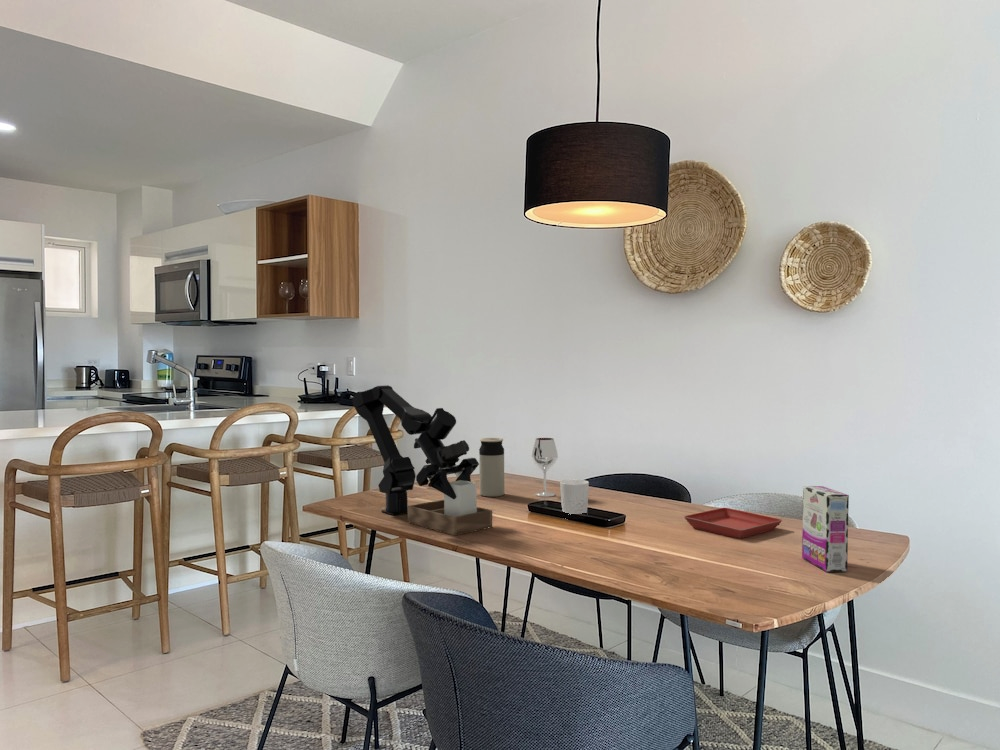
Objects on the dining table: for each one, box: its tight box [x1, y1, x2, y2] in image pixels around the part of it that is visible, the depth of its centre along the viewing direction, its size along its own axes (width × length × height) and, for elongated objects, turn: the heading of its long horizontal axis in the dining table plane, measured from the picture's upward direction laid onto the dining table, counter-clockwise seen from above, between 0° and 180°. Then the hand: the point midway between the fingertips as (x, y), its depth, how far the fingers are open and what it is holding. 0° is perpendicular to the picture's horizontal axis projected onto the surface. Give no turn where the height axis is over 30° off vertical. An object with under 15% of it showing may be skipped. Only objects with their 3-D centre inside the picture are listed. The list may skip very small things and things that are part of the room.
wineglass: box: [531, 437, 558, 498], centre depth 244 cm, size 8×8×18 cm
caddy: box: [443, 480, 478, 517], centre depth 201 cm, size 6×6×10 cm
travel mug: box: [478, 437, 505, 498], centre depth 245 cm, size 8×8×18 cm
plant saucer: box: [683, 507, 783, 539], centre depth 199 cm, size 18×18×3 cm
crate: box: [407, 499, 493, 536], centre depth 205 cm, size 20×13×5 cm, turn 42°
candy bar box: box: [801, 485, 850, 573], centre depth 165 cm, size 11×5×16 cm, turn 5°
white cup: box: [559, 478, 590, 520], centre depth 212 cm, size 8×8×10 cm
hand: (463, 496), depth 200 cm, fingers closed on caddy, 6 cm apart
